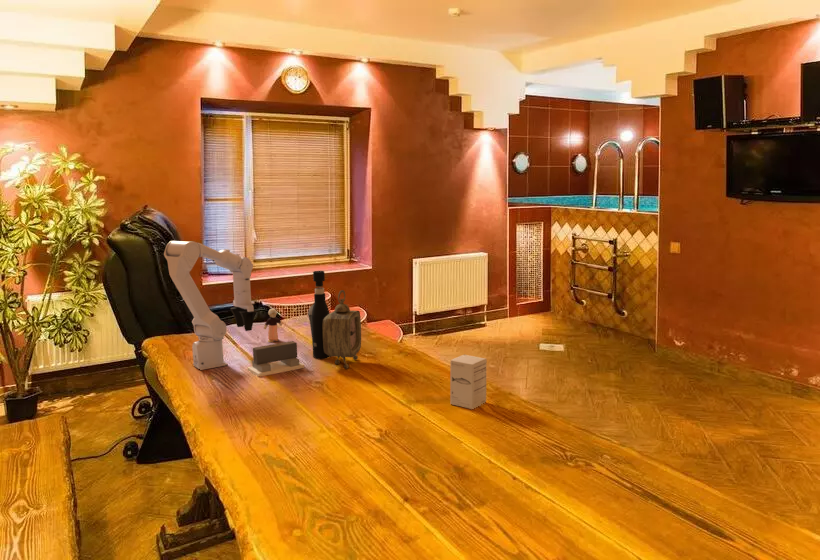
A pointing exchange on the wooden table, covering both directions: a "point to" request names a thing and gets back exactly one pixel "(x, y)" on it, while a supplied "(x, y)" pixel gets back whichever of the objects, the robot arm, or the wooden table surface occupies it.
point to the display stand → (275, 367)
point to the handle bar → (274, 352)
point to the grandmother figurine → (272, 325)
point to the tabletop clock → (342, 332)
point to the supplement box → (468, 381)
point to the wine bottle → (318, 316)
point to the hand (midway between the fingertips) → (244, 328)
